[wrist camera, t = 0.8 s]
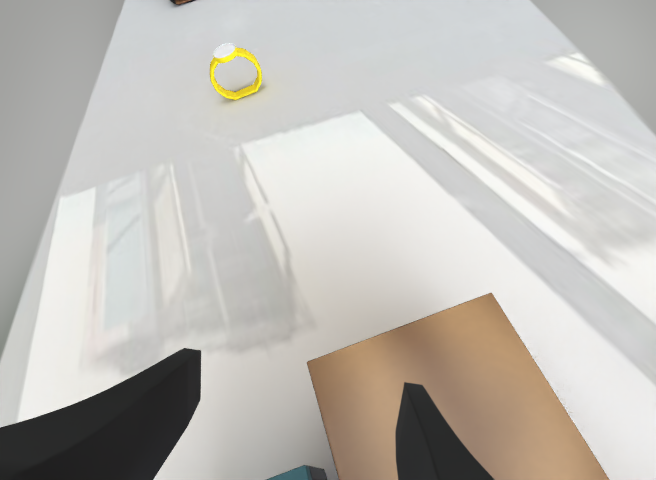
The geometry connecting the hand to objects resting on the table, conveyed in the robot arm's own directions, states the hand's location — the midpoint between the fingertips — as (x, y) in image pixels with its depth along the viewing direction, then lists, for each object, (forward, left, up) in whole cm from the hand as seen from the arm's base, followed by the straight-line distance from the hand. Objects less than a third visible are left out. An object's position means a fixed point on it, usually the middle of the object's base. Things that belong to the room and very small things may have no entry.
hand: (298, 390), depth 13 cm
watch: (+20, +36, -15) cm, 43 cm away
